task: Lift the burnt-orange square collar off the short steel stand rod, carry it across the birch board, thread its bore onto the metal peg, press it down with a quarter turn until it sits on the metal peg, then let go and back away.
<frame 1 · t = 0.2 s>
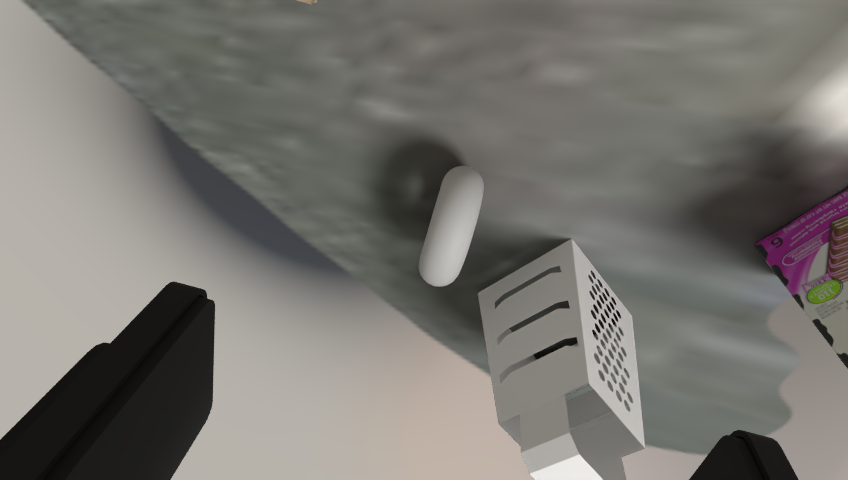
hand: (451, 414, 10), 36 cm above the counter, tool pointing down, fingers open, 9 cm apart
donut: (456, 198, 48), on the counter
candy bar box: (827, 221, 45), on the counter
grater: (553, 303, 52), on the counter
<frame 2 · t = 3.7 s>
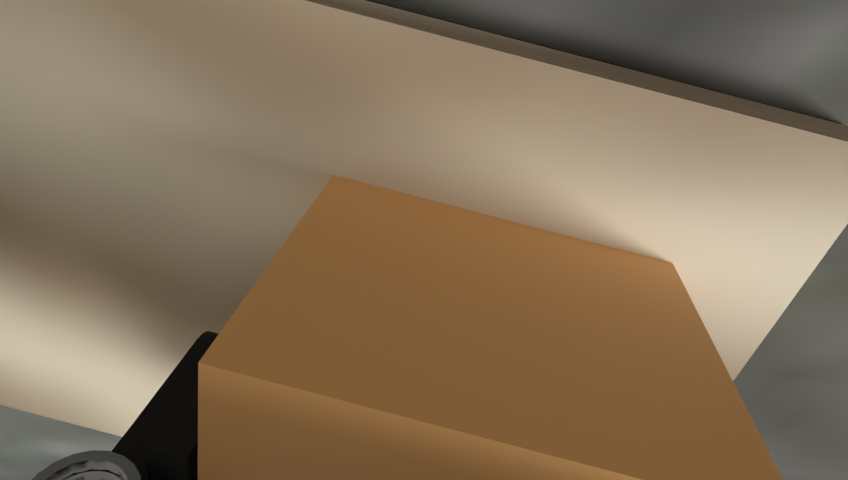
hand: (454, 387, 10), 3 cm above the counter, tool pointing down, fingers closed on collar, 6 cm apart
collar: (459, 347, 11), point 1 cm above the counter, touching gripper, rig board
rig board: (178, 230, 13), on the counter
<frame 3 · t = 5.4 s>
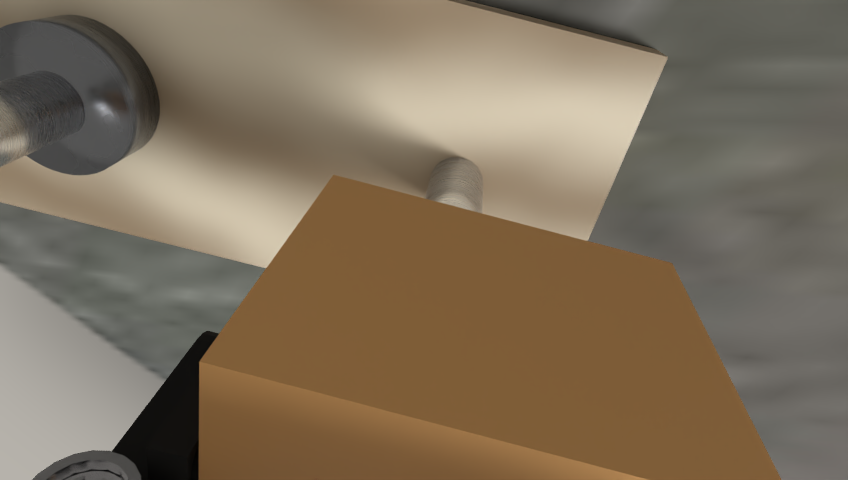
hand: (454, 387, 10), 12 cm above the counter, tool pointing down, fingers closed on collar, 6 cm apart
collar: (458, 347, 11), point 11 cm above the counter, touching gripper
stand rod: (458, 167, 22), resting on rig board
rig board: (288, 124, 21), on the counter
metal peg: (116, 80, 21), resting on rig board
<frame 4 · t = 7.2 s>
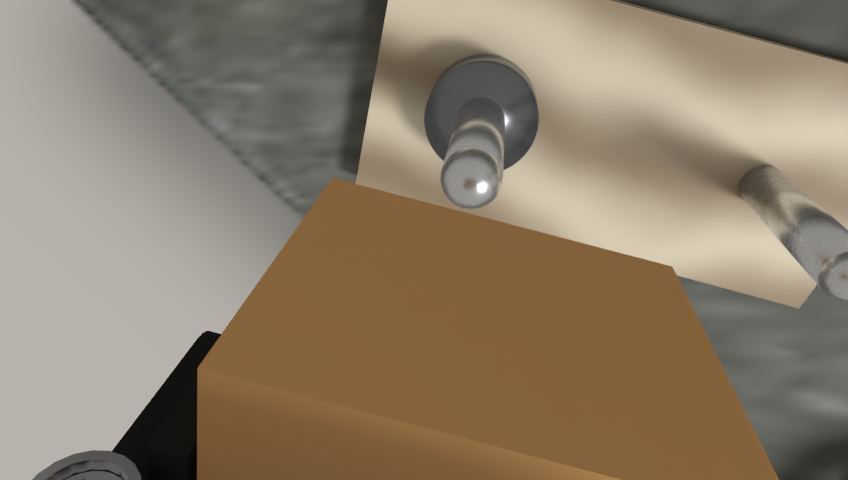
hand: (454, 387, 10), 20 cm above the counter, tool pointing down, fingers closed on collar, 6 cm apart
collar: (458, 350, 11), point 19 cm above the counter, touching gripper
stand rod: (748, 172, 27), resting on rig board
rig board: (616, 136, 27), on the counter
metal peg: (483, 101, 28), resting on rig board
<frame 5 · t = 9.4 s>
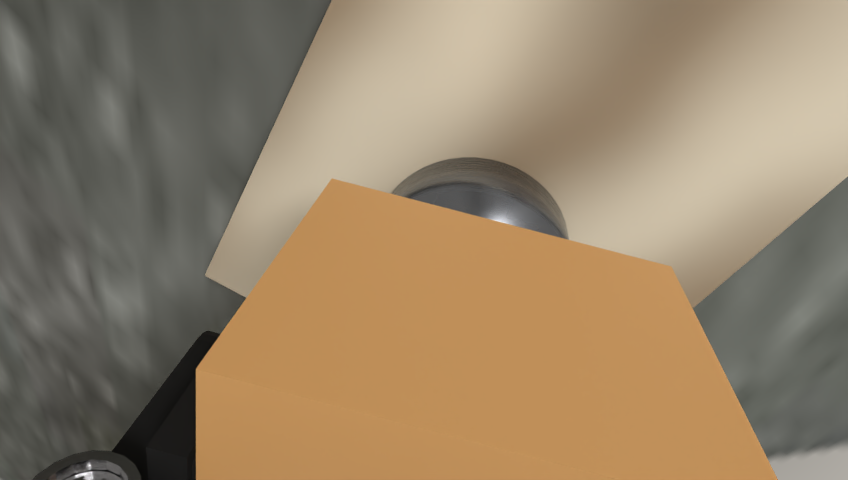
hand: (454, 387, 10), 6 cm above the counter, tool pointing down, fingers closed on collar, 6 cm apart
collar: (458, 350, 11), point 5 cm above the counter, touching gripper
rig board: (640, 3, 12), on the counter
metal peg: (472, 221, 16), resting on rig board
when the fingers open (5 cm above the counter, at t = 11.1 s): collar stays where it is, resting on metal peg.
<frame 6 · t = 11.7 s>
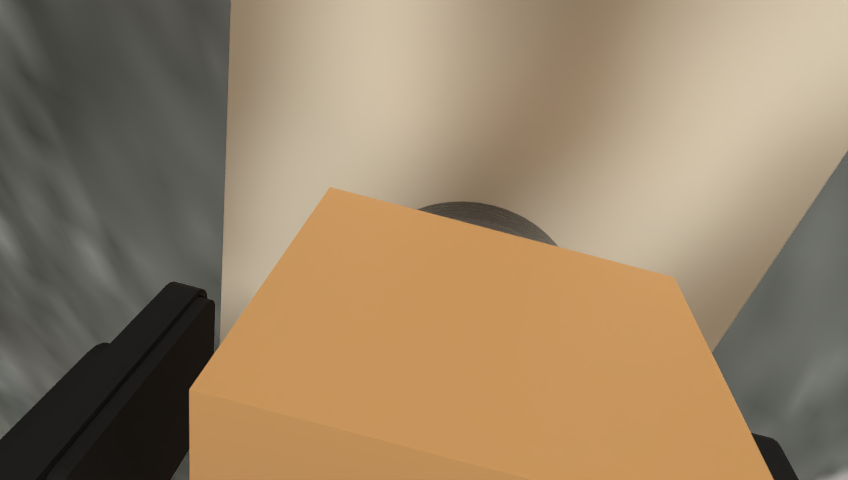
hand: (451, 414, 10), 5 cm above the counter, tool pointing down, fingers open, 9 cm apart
collar: (457, 360, 11), point 3 cm above the counter, touching metal peg
metal peg: (467, 266, 14), resting on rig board
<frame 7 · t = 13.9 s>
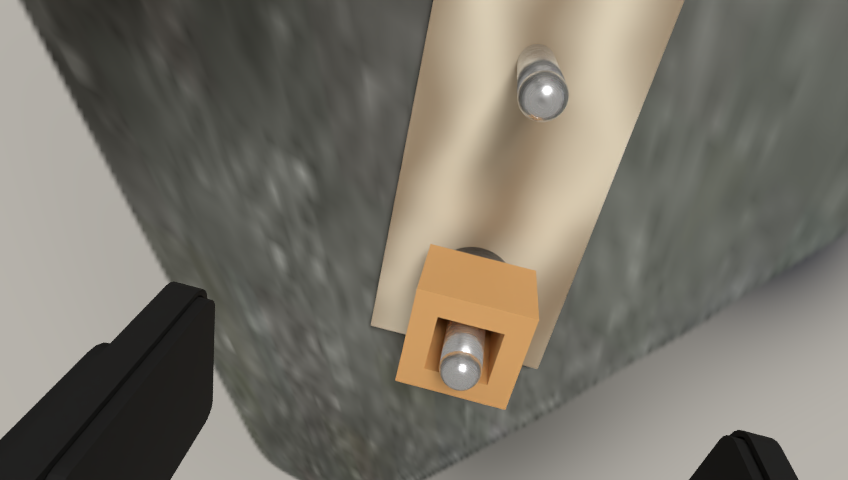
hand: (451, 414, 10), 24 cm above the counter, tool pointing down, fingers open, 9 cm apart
collar: (470, 300, 33), point 3 cm above the counter, touching metal peg
stand rod: (535, 59, 30), resting on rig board
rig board: (501, 175, 33), on the counter
metal peg: (474, 270, 36), resting on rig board
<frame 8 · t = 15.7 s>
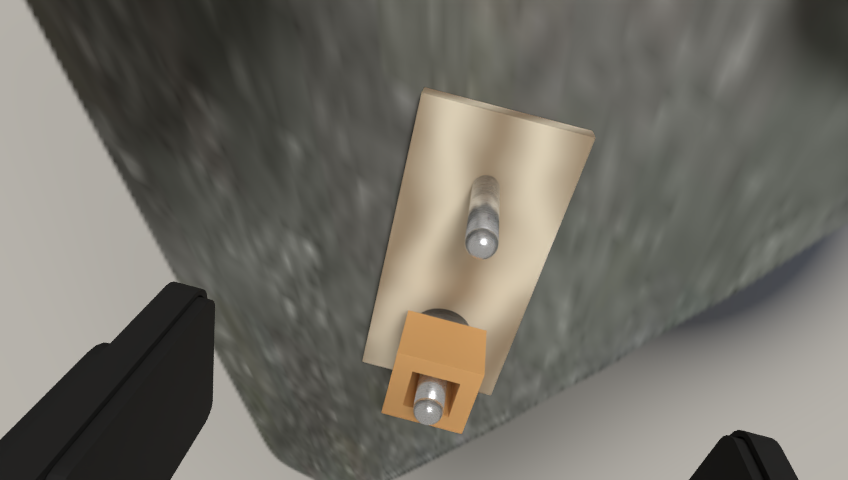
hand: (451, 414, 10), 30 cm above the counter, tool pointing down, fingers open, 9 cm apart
collar: (438, 349, 44), point 3 cm above the counter, touching metal peg
stand rod: (486, 179, 40), resting on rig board
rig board: (462, 256, 44), on the counter
metal peg: (442, 322, 47), resting on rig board
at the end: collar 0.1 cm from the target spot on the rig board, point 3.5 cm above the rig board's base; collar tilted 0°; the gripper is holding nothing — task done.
